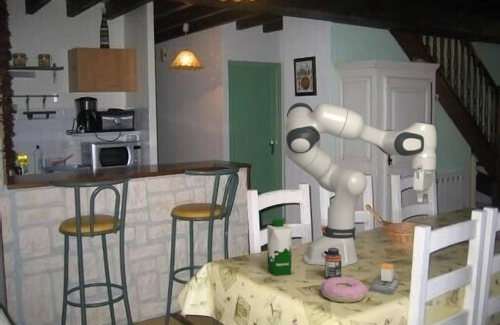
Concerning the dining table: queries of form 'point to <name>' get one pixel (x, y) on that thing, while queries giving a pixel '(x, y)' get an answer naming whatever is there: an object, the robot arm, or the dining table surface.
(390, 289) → the console
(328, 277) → the supplement bottle
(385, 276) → the fader knob
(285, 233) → the milk carton
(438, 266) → the dining table surface
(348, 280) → the donut
